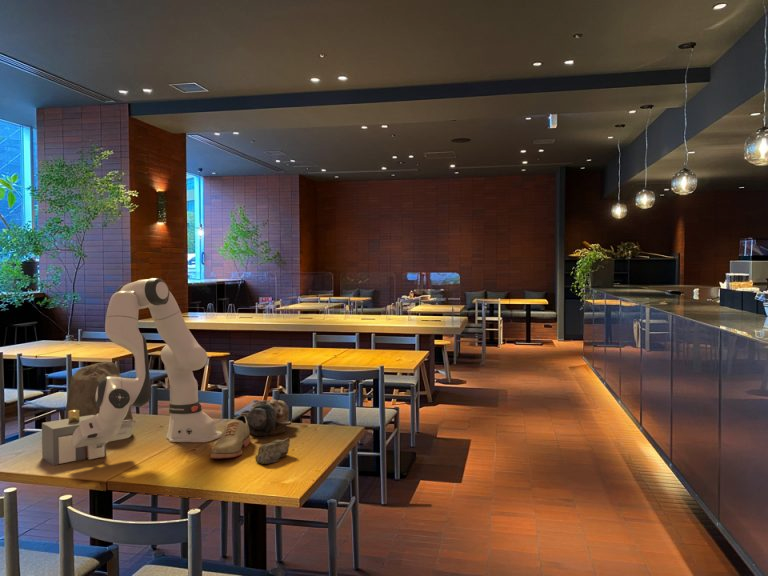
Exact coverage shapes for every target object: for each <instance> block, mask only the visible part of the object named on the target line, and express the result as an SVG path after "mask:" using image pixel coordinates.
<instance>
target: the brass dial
mask: <svg viewBox="0 0 768 576" xmlns="http://www.w3.org/2000/svg"><path fill="white" fill-rule="evenodd" d="M68 414H69V423H75V422H79V410H70V411H68Z"/></svg>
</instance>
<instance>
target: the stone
mask: <svg viewBox="0 0 768 576" xmlns="http://www.w3.org/2000/svg"><path fill="white" fill-rule="evenodd" d="M106 376H111V377H121V378H122V376H121V374H120V371H119V369H118V365H117V364H116V363H114V362H113V361H103V362H97V363H92V364H90V365H86V366H83V367H81V368H79V369H78V370H76V371H75V373H74V374H73V375H72V377H71V380H70V384H69V390H68V394H67V401H66V404H65V416H64V417H65V418H64V419H69V414H68V411H70V410H79V417H82V416H88V415H97V414H98V413H99V411H100V408H98V406H97V405H96V403H95V399H94V397H95V391H96V388H97V385H98V383H99V381H100V380H101V379H103V378H104V377H106ZM123 420H134V418H133V413H132V407H131V405H130V406H129V409H128V412H127V415H126V417H125V418H124V419H123Z"/></svg>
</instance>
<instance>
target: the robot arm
mask: <svg viewBox="0 0 768 576" xmlns="http://www.w3.org/2000/svg"><path fill="white" fill-rule="evenodd" d="M147 308H148V309H149V311H150V313H149V314H150V316H151V318H152V320H153V322H154V325H155V327H156V330H157V333H158V335H159V337H160V338H161V339H162V340H163V341H164V342H165V343H166V344H165V346H163V348H162V349H161V351H160V359H161V361H162V363H163V365H164V367H165V370H166V374H167V379H168V384H169V401H170V402H169V403H168V412H169V423H168V429H167V430H168V431H167V434H166V436H165V438H166V439H167V440H168V441H169V443H171V442H172V443H209V442H211V441H214V440H217V439H220V437H221V435H222V433H223V431H220V430H217V426H216V425H217V424H216V422H215V420H214V419H213V418H212V417H210V416H209V414H207V413H205V412H204V411H203V408H202V407H204V403H200V401H199V395H198V394H199V389H198V387H199V384H198V381H197V379H196V378H195V376H194V372H193V371H198V370H200V369H202V368H204V367H205V365H206V364H207V361H208V354H207V350H205V348H203V347H202V346H201V345H200V343H198V341H197V340H196V338H195V337H194V335H193V334H192V332H191V331H190V329H189V327H188V325H187V324H186V321H185V318H184V316H183V313H182V311H181V309H180V307H179V305H178V302H177V300H176V299H175V297H174V295H173V294H172V293H171V291H170V287H169V286H168V284H167V282H166V281H164V280H163V279H162V278H157V277H151V278H147V279H146V278H145V279H138V280H136V281H132V282H130V283H125V284H122V285H120V286H119V287H117V288H116V290H115V293H113V294H112V296H111V297H110V300H109V303H108V306H107V310H106V313H105V320H104V321H105V322H104V323H105V324H104V331H105V335H106V337H107V338H108V339H109V340H110V341H111V342H113V343H114V344H115V345H118V346H120V347H122V348H124V349H126V350H127V351H129V352H130V353H131V354H132V355H133V357H134V360H135V361H134V363H135V376H136V377H135V378H132V377H131V378H130V377H122V376H121V377H111V376H106V377H104V378H103V379H101V380H100V381H99V383H98V385H97V388H96V391H95V397H94V399H95V403H96V405H97V406H98V408H100V411H99V413H98V414H97V415H95V416H93V417H91V418H88V419H85V420H82V421H80V423H79V427H78V428H77V429H76V430H75V431H74V433H73V435H72V437H71V443H72V446H73V447H74V448H78V447H84V446H89V445H93V446H94V449H96V448H101V447H103V446H104V445H105V444H106V445H107V444H108V443H110V442H113V441H119V440H124V439H129V438H130V437H131V436H132V435H133V430H134V427H135V425H136V420H134V419H133V420H123V419H124V418H125V417H126V415H127V412H128V409H129V406H130V407H131V406H132V407H137V408H141V407H143V406H145V405H147V403H149V401H151V399H152V395H153V391H152V390H153V389H152V383H151V376H150V366H149V353H148V345H147V344H148V343H147V340H146V337H145V336H144V335H142V333H141V332H140V329H139V325H138V324H139V314H140V313H139V311H140V310H144V309H147Z"/></svg>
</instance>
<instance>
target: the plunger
mask: <svg viewBox="0 0 768 576" xmlns="http://www.w3.org/2000/svg"><path fill="white" fill-rule="evenodd" d="M105 456H106V455H105V449H104V446H103V447H101V448H96V449H94V446H93V445H89V446H86V459H88V460H94V459H98V458H104V457H105Z"/></svg>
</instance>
